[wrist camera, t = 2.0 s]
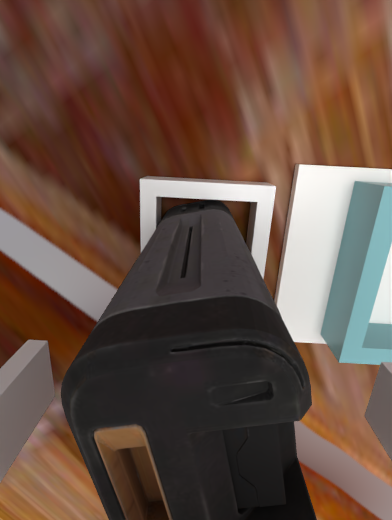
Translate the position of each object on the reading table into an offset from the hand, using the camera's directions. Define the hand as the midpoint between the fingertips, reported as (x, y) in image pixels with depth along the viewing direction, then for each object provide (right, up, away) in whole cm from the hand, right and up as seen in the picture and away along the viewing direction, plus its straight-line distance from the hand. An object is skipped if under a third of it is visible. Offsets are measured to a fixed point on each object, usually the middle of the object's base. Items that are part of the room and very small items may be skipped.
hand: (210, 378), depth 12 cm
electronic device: (0, +5, +15) cm, 16 cm away
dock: (+17, +4, +14) cm, 23 cm away
